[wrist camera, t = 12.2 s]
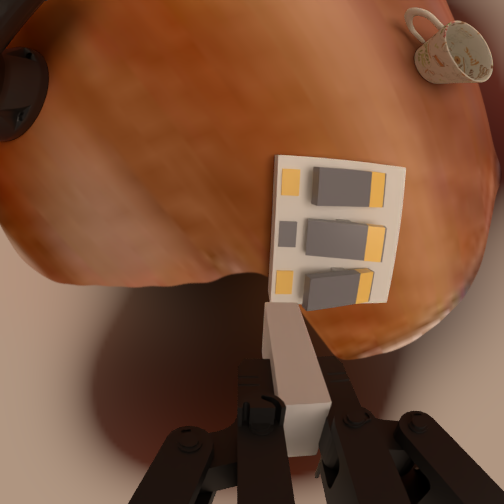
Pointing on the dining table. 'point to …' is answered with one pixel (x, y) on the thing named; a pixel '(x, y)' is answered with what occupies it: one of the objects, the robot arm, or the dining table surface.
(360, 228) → the rocker
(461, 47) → the mug
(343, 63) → the dining table surface
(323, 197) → the rocker
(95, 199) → the dining table surface
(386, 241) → the switch unit
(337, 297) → the rocker
